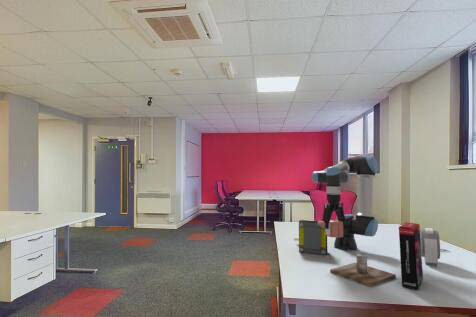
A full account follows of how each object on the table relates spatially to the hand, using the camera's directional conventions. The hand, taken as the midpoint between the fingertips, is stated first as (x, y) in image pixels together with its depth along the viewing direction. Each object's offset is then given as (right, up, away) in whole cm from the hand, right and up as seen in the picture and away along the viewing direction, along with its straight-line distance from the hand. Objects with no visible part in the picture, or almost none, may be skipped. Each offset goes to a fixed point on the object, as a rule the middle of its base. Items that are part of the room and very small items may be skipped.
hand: (334, 233), depth 151 cm
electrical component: (-5, -20, +26) cm, 33 cm away
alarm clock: (+58, -19, +5) cm, 61 cm away
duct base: (+9, -17, -15) cm, 24 cm away
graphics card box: (+28, -16, -26) cm, 41 cm away
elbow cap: (-2, -1, +3) cm, 3 cm away
